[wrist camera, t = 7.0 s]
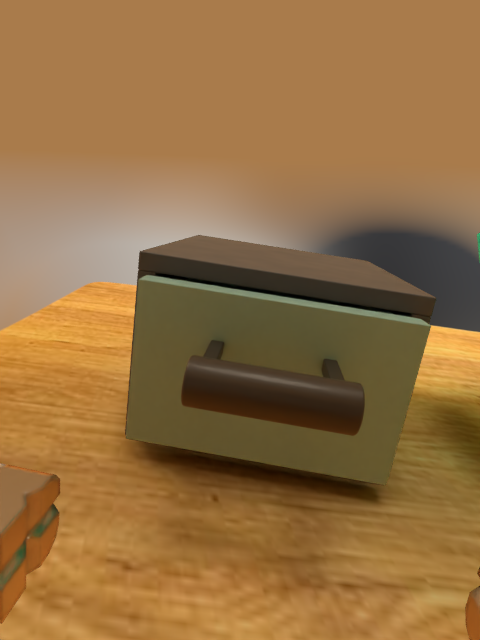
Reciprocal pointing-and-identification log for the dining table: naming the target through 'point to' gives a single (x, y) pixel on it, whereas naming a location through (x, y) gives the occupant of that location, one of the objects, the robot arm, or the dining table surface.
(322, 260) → the mini chest of drawers
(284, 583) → the dining table surface
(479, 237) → the table top decor
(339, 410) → the drawer
